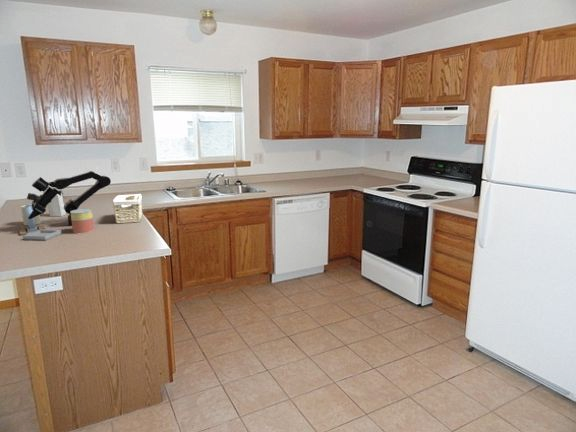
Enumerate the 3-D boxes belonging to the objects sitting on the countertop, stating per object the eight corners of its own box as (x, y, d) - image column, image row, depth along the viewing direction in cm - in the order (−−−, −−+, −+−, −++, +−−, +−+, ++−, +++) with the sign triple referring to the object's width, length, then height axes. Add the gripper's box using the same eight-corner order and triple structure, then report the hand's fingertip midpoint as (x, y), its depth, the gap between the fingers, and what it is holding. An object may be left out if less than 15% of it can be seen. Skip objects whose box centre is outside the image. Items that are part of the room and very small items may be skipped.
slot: (19, 230, 235) (19, 228, 235) (44, 226, 242) (43, 225, 241) (20, 235, 223) (19, 233, 223) (45, 232, 230) (45, 230, 230)
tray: (61, 233, 226) (61, 230, 225) (45, 240, 213) (45, 236, 213) (40, 233, 227) (40, 229, 227) (23, 240, 215) (22, 235, 214)
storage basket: (118, 216, 268) (116, 194, 265) (144, 214, 273) (142, 193, 269) (114, 224, 246) (111, 201, 243) (142, 222, 250) (139, 199, 247)
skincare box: (66, 214, 274) (63, 193, 270) (61, 216, 268) (58, 194, 264) (53, 214, 274) (50, 193, 270) (48, 216, 268) (45, 194, 264)
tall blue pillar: (27, 229, 235) (23, 205, 232) (37, 228, 238) (33, 204, 234) (27, 232, 230) (23, 207, 226) (37, 231, 232) (33, 206, 229)
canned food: (98, 229, 235) (96, 209, 232) (82, 234, 225) (79, 213, 222) (85, 227, 239) (82, 208, 237) (68, 232, 229) (65, 212, 227)
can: (37, 221, 256) (34, 202, 253) (43, 223, 250) (40, 204, 247) (21, 223, 249) (18, 205, 246) (26, 226, 243) (23, 207, 241)
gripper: (34, 185, 238) (14, 206, 234) (35, 190, 223) (15, 211, 219) (51, 197, 244) (32, 217, 241) (53, 202, 229) (34, 223, 226)
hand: (28, 217), depth 231 cm, fingers open, 9 cm apart
